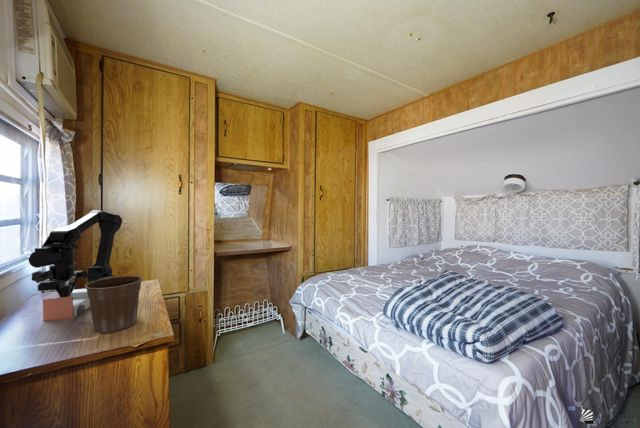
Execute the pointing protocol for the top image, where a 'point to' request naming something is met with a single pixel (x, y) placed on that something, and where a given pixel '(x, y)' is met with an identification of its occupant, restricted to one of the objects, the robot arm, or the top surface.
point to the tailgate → (57, 308)
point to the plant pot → (114, 302)
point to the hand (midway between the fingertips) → (64, 301)
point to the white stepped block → (80, 301)
